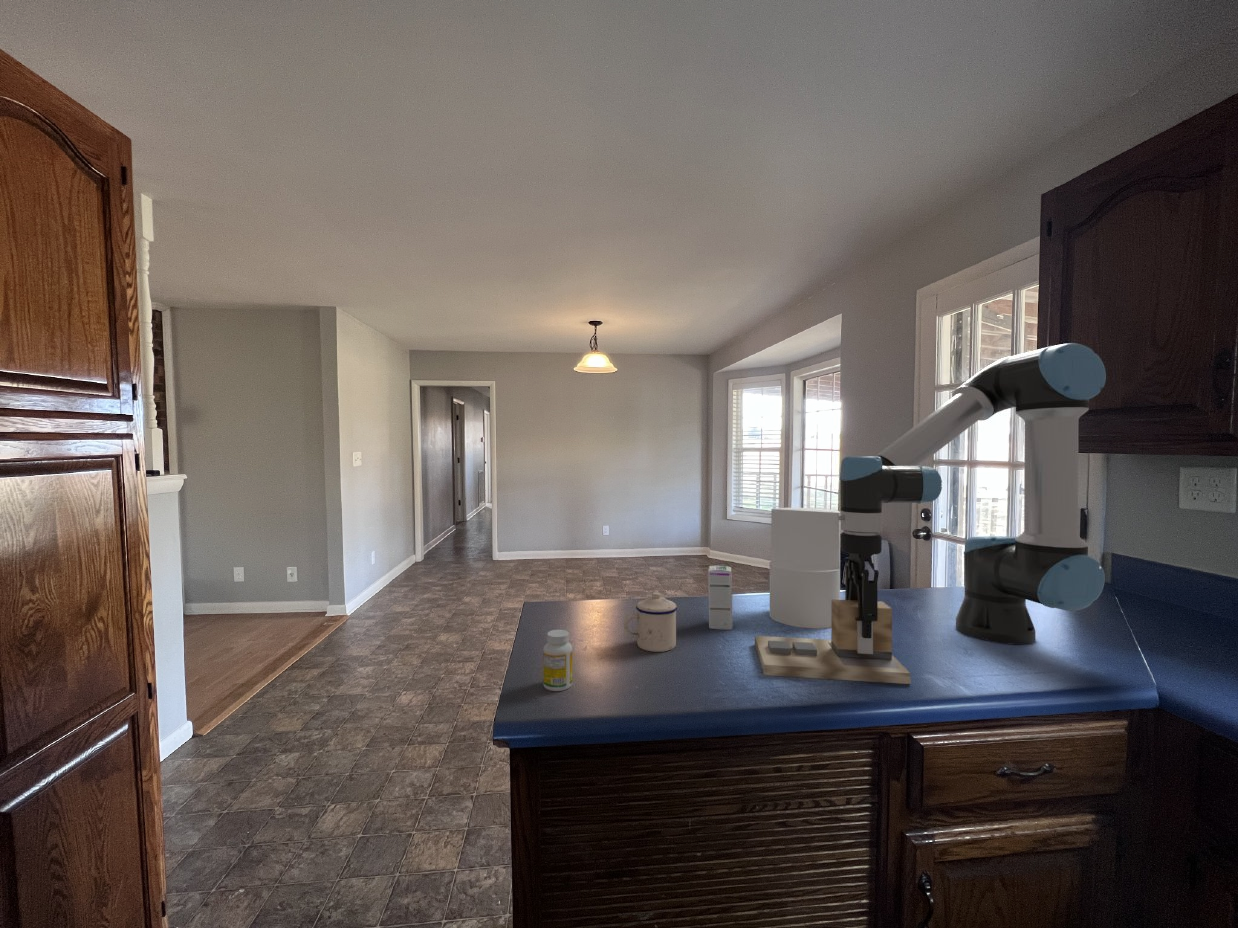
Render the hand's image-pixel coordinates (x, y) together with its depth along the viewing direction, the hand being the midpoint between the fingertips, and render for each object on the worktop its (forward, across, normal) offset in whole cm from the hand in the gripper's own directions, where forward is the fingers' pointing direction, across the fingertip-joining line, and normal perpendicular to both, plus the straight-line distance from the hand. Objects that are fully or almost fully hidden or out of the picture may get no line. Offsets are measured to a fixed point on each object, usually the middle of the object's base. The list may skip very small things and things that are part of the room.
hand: (860, 647), depth 101 cm
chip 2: (+1, 0, -11) cm, 11 cm away
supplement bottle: (+4, +19, -58) cm, 61 cm away
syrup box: (+4, -19, -27) cm, 34 cm away
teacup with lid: (+4, -3, -43) cm, 43 cm away
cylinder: (+4, -30, -5) cm, 30 cm away
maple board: (+3, 0, -7) cm, 8 cm away
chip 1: (+1, 0, -16) cm, 16 cm away
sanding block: (+1, 0, 0) cm, 1 cm away
